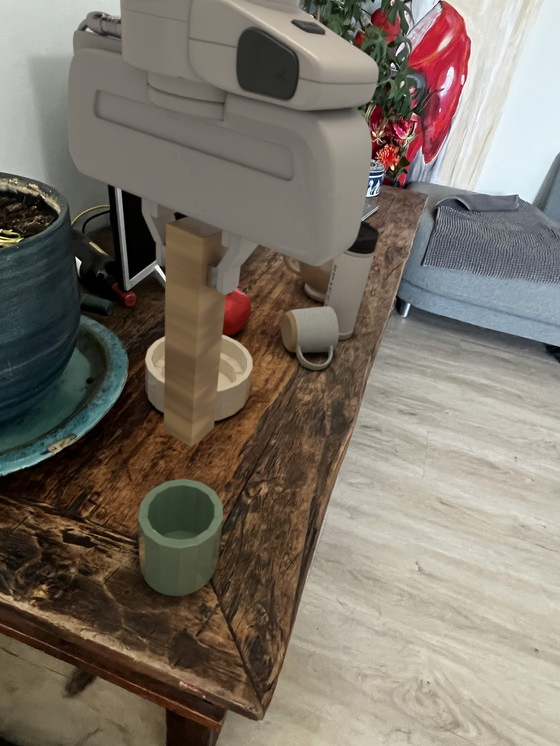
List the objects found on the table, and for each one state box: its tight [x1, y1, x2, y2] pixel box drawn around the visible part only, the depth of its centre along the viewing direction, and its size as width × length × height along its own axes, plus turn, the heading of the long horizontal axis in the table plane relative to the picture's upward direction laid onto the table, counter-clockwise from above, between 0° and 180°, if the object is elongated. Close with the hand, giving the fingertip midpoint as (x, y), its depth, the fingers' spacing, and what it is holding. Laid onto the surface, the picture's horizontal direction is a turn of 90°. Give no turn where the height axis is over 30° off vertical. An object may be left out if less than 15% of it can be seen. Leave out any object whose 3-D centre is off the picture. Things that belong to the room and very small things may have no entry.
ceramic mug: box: [280, 306, 339, 371], centre depth 82 cm, size 11×8×8 cm
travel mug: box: [323, 220, 380, 341], centre depth 86 cm, size 6×7×20 cm
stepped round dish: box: [144, 335, 254, 422], centre depth 70 cm, size 15×15×6 cm
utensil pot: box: [137, 478, 224, 597], centre depth 48 cm, size 8×8×8 cm
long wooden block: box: [163, 216, 229, 448], centre depth 37 cm, size 3×3×18 cm
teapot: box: [281, 253, 335, 304], centre depth 99 cm, size 18×14×16 cm
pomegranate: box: [222, 284, 252, 337], centre depth 85 cm, size 10×10×9 cm
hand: (197, 277), depth 34 cm, fingers closed on long wooden block, 3 cm apart
